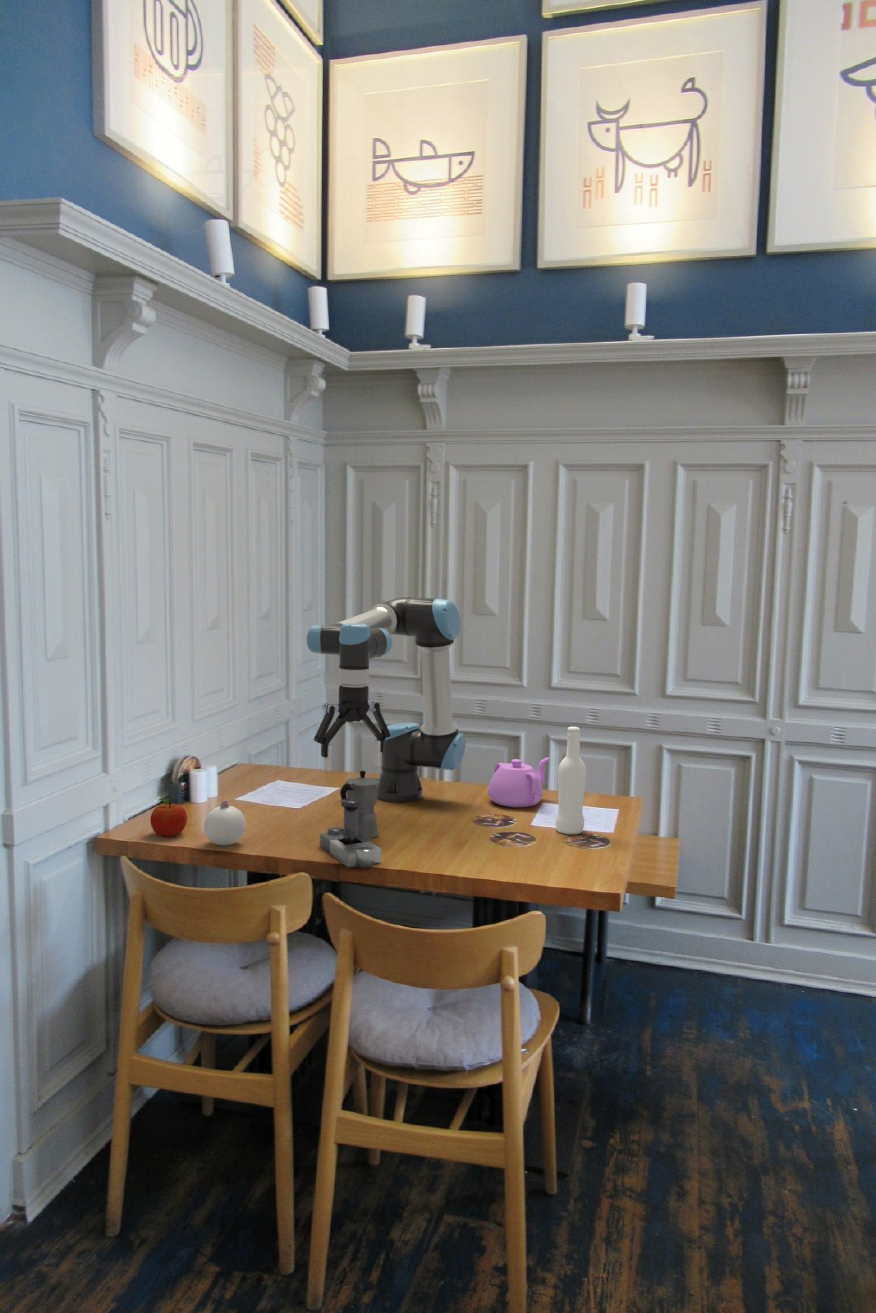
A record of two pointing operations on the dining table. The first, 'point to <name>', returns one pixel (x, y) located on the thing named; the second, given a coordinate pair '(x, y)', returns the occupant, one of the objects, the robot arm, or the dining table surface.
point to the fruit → (168, 819)
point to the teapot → (517, 784)
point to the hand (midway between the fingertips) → (352, 767)
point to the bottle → (571, 787)
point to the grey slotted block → (350, 849)
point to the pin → (350, 820)
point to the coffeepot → (363, 802)
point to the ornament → (224, 824)
